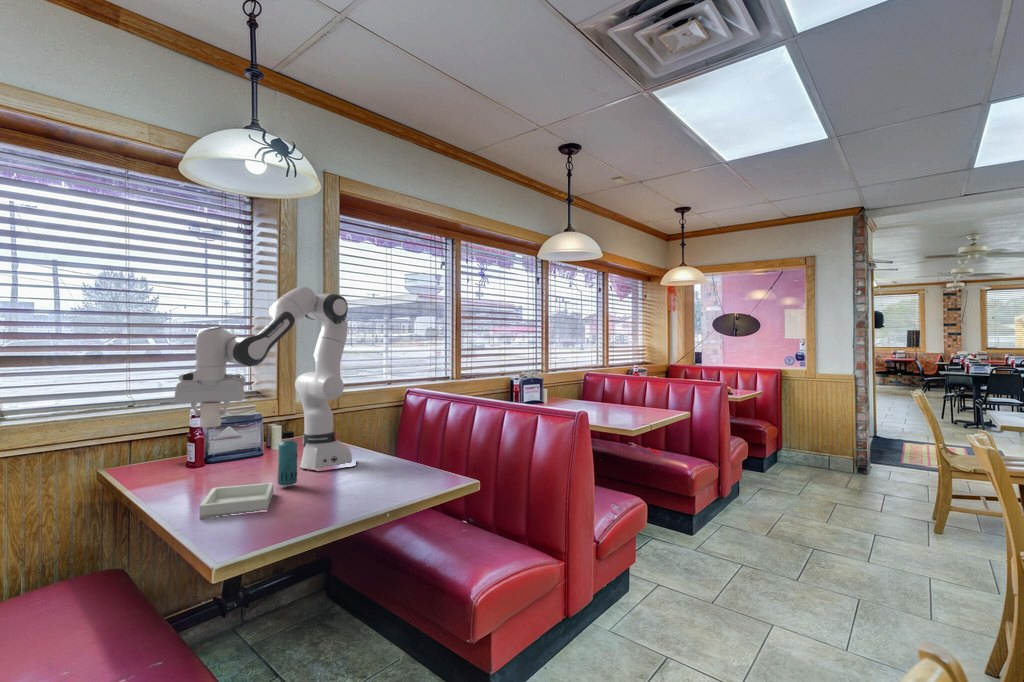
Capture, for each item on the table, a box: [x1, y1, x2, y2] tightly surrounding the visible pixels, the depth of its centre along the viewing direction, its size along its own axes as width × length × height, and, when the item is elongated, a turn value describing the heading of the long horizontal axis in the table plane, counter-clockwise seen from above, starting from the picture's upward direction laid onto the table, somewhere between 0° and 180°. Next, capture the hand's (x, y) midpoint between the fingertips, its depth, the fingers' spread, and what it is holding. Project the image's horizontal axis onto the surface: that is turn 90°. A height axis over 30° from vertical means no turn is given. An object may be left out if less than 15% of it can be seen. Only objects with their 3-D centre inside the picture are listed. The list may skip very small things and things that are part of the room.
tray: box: [199, 482, 274, 520], centre depth 156 cm, size 18×18×4 cm
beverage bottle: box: [277, 430, 299, 487], centre depth 175 cm, size 6×7×20 cm
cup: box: [199, 402, 222, 429], centre depth 166 cm, size 6×6×8 cm
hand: (210, 415), depth 166 cm, fingers closed on cup, 6 cm apart
